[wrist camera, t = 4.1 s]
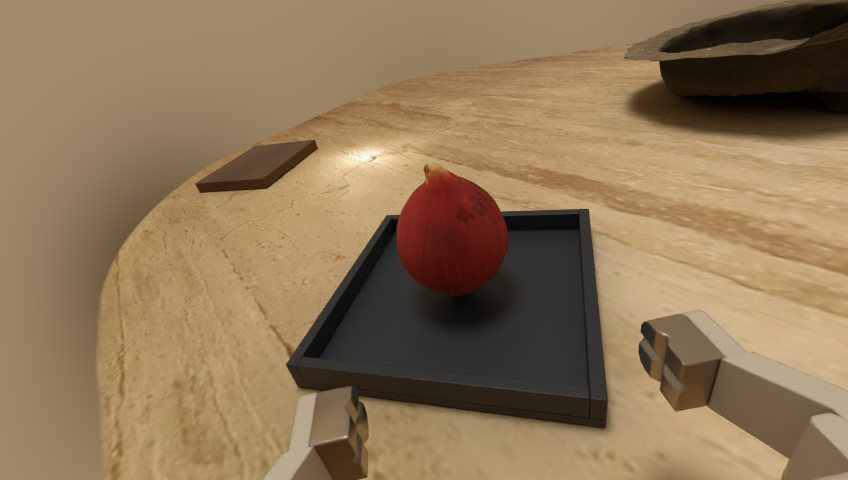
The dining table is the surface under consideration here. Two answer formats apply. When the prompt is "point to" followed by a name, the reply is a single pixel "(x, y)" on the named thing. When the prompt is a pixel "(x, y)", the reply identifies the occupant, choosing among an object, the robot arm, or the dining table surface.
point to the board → (257, 167)
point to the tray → (471, 329)
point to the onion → (451, 234)
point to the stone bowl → (758, 52)
